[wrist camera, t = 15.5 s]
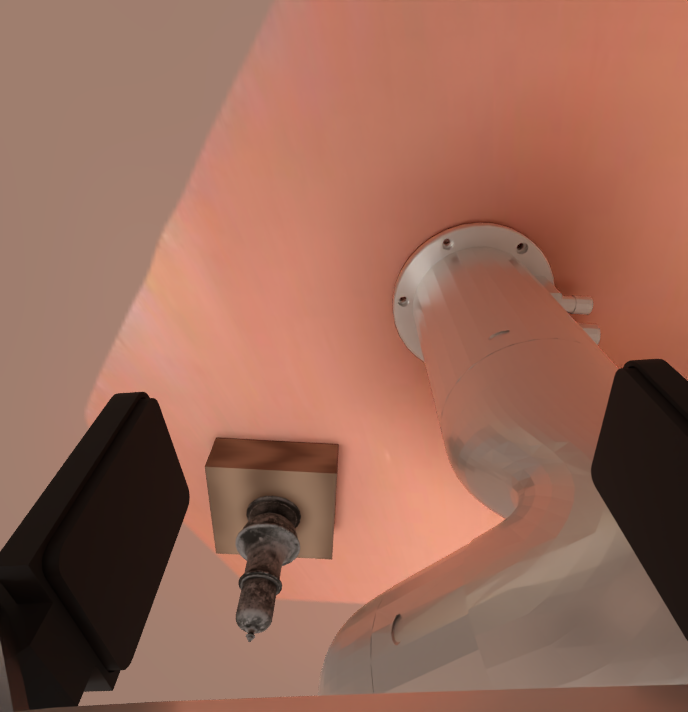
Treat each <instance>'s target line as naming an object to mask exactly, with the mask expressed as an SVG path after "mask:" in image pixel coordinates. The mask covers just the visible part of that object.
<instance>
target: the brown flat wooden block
mask: <svg viewBox="0 0 688 712" xmlns="http://www.w3.org/2000/svg"><path fill="white" fill-rule="evenodd" d="M337 463H338V444H319V443H300V442H282V441H263V440H245V439H226V438H216V440H215V442H214V445H213V447H212V450H211V452H210V455H209V457H208V460H207V462H206V465H205V472H206V479H207V487H208V495H209V502H210V510H211V518H212V525H213V533H214V540H215V548H216V553H220V554H239V552H238V551H237V548H236V545H235V543H236V537H237V535H238V533H239V532H240V531H241V530H242V529H243V527H244V526H245V525H246V524H247V522H248V519H247V516H246V513H247V508H248V506H249V504H250V503H251V502H252V501H254V500H256V499H257V498H260V497H264V496H279V497H282V498H286V499H288V500H289V501H291V502H293V503H294V504H295V505H296V506H297V507H298V509H299V511H300V514H301V520H300V523H299V525H298V527H296V528H295V530H296V533H297V537H298V540H299V543H300V552H299V554H298V556H297V558H315V559H332V552H333V534H334V517H335V499H336V482H337ZM239 555H240V554H239Z"/></svg>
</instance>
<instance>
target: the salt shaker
mask: <svg viewBox="0 0 688 712" xmlns="http://www.w3.org/2000/svg"><path fill="white" fill-rule="evenodd" d="M246 516H247V519H248V522H247V524H246V525H245V526H244V527H243V529H242V530H241V531H240V532H239V533H238V535H237V537H236V543H235V545H236V548H237V551H238V552H239V554H240V555H241V556H242V557H243V558H244V559H245V560H247V564H246V568H245V573H244V574H243V575H242V576H241V577H240V579H239V587H240V589H241V594H240V599H239V603H238V608H237V612H236V622H237V624H238V626H239V627H240V628H241V629H242V630H244V631H245V632H247V633H248V634H247V635H246V637H247V639H248V641H249V642H251V640H253V639H254V638H255V635H254V634H255V633H260V632H263V631H265V630H266V629H267V628H268V627H269V626H270V625H271V622H272V617H273V611H274V605H275V598H276V595H277V594H279V593H280V591H281V590H282V583H281V581H280V580H279V579H280V572H281V567H282V566H284V565H286V564H288V563H291V562H292V561H293V560H294V559H296V558H297V556H298V554H299V552H300V543H299V540H298V537H297V533H296V530H295V528H296V527H298V525H299V523H300V520H301V514H300V511H299V509H298V507H297V506H296V505H295V504H294V503H293V502H291V501H289V500H288V499H286V498H282V497H279V496H264V497H260V498H257V499H256V500H254V501H252V502H251V503H250V504H249V506H248V508H247V513H246Z"/></svg>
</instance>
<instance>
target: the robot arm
mask: <svg viewBox="0 0 688 712" xmlns="http://www.w3.org/2000/svg"><path fill="white" fill-rule="evenodd" d="M445 239H449V243H447V244H443V241H444V240H445ZM520 243H522V245H521V247H520V248H516V247H517V246H518V245H519V244H520ZM401 297H406V298H405V299H404V300H401V299H400V298H401ZM592 309H593V299H592V297H590V296H574V295H572V296H562V294H561V293H560V292H559V291H558V290H557V288H556V287H555V286H554V277H553V273H552V270H551V267H550V264H549V262H548V261H547V259H546V257H545V256H544V254H543V252H542V251H541V250H540V249H539V248H538V247H537V246H536V245H535V244H534V243H533V242H532V241H531V240H530V239H528V238H527V237H526V236H525V235H523V234H522V233H520V232H518V231H516V230H514V229H512V228H510V227H506V226H502V225H499V224H495V223H471V224H463V225H459V226H456V227H453V228H450V229H447V230H445V231H443V232H441V233H439V234H437V235H435V236H433V237H432V238H430V239H429V240H428V241H426V242H425V243H424V244H423V245H421V246H420V247H419V248H418V249H417V250H416V251H415V252H414V253H413V254H412V255H411V257H410V258H409V259H408V260H407V262H406V263H405V265H404V267H403V268H402V270H401V272H400V274H399V276H398V279H397V282H396V284H395V288H394V294H393V315H394V320H395V325H396V328H397V330H398V333H399V336H400V338H401V339H402V341H403V342H404V344H405V345H406V347H407V348H408V349H409V350H410V351H411V352H412V353H413V354H414V355H415V356H416V357H418V358H419V359H420V360H422V361H423V362H425V366H426V370H427V374H428V378H429V382H430V387H431V391H432V395H433V399H434V403H435V407H436V411H437V415H438V420H439V424H440V428H441V432H442V437H443V441H444V445H445V449H446V453H447V456H448V459H449V461H450V464H451V466H452V468H453V470H454V472H455V474H456V476H457V477H458V479H459V480H460V482H461V483H462V484H463V485H464V487H465V488H466V489H467V490H468V491H469V492H470V493H471V494H472V495H473V496H474V497H475V498H476V499H477V500H478V501H479V502H481V503H482V504H483V505H485V506H486V507H488V508H489V509H490V510H492V511H493V512H495V513H496V514H498V515H500V516H502V517H503V518H505V520H504V521H503V522H501V523H500V524H498V525H497V526H495V527H493V528H492V529H490V530H488V531H487V532H485V533H483V534H482V535H480V536H478V537H476V538H475V539H473V540H472V541H471V542H470V543H469V544H467V545H466V546H464V547H462V548H460V549H458V550H457V551H455V552H453V553H451V554H450V555H448V556H446V557H444V558H442V559H441V560H439V561H437V562H435V563H433V564H432V565H430V566H428V567H426V568H425V569H423V570H421V571H419V572H417V573H416V574H414V575H412V576H410V577H409V578H407V579H405V580H403V581H401V582H400V583H398V584H396V585H394V586H393V587H392V588H390V589H388V590H387V591H385V592H383V593H382V594H380V595H378V596H377V597H375V598H374V599H373V600H371V601H370V602H368V603H367V604H365V605H364V606H363V607H362V608H360V609H359V610H358V611H357V612H355V613H354V614H353V615H352V617H350V618H349V620H348V621H347V622H346V623H345V624H344V625H343V626H342V628H341V629H340V630H339V632H338V633H337V635H336V637H335V639H334V640H333V642H332V644H331V645H330V647H329V650H328V652H327V655H326V657H325V660H324V664H323V668H322V671H321V675H320V681H319V687H318V696H298V697H297V696H296V697H271V698H244V699H219V700H192V701H169V702H168V701H167V702H145V703H128V704H110V705H93V706H78V704H79V702H80V699H81V697H82V694H83V692H84V691H85V692H86V691H112V690H113V689H114V686H115V683H116V681H117V678H118V675H119V673H120V670H125V669H126V668H127V667H128V666H129V665H130V663H131V661H132V659H133V656H134V653H135V651H136V648H137V645H138V642H139V640H140V637H141V634H142V632H143V629H144V626H145V623H146V620H147V618H148V615H149V612H150V610H151V607H152V604H153V601H154V598H155V596H156V593H157V590H158V588H159V585H160V582H161V579H162V577H163V574H164V571H165V568H166V566H167V563H168V560H169V558H170V554H171V552H172V549H173V547H174V544H175V541H176V538H177V536H178V533H179V530H180V527H181V525H182V522H183V519H184V516H185V514H186V511H187V508H188V505H189V489H188V486H187V483H186V480H185V477H184V474H183V472H182V469H181V466H180V463H179V460H178V457H177V455H176V452H175V449H174V446H173V443H172V440H171V437H170V435H169V432H168V429H167V426H166V423H165V420H164V418H163V415H162V412H161V409H160V406H159V404H158V402H157V400H156V399H154V398H150V397H149V396H148V394H147V393H145V392H133V393H118V394H115V395H114V396H113V397H112V398H111V399H110V400H109V402H108V403H107V405H106V406H105V407H104V409H103V410H102V412H101V413H100V414H99V416H98V417H97V418H96V420H95V421H94V423H93V424H92V425H91V427H90V428H89V430H88V431H87V432H86V434H85V435H84V436H83V438H82V439H81V441H80V442H79V443H78V445H77V446H76V448H75V449H74V450H73V452H72V453H71V454H70V456H69V457H68V459H67V460H66V461H65V463H64V464H63V466H62V467H61V468H60V470H59V471H58V472H57V474H56V476H55V477H54V478H53V479H52V481H51V482H50V484H49V485H48V486H47V488H46V489H45V491H44V492H43V493H42V495H41V496H40V498H39V499H38V500H37V502H36V503H35V505H34V506H33V507H32V509H31V510H30V511H29V513H28V514H27V515H26V517H25V518H24V520H23V521H22V523H21V524H20V525H19V527H18V528H17V529H16V531H15V532H14V534H13V535H12V536H11V538H10V539H9V540H8V542H7V543H6V545H5V546H4V547H3V549H2V550H1V551H0V712H688V381H687V380H686V379H685V378H684V377H682V376H681V375H680V374H679V373H678V372H677V371H676V370H675V369H674V368H673V367H672V366H670V365H669V364H668V363H667V362H666V361H664V360H663V359H648V360H632V361H629V362H627V363H626V364H625V365H624V367H623V368H621V369H619V368H618V367H617V366H616V365H615V364H614V363H613V362H612V360H611V359H610V358H609V357H608V356H607V355H606V354H605V353H604V352H603V351H602V350H601V348H600V347H599V346H598V343H599V341H600V335H601V334H600V328H599V326H598V325H597V324H592V323H577V322H576V321H575V320H574V319H573V318H572V317H571V316H570V315H569V314H568V313H571V314H585V315H588V314H590V313H591V311H592Z"/></svg>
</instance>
